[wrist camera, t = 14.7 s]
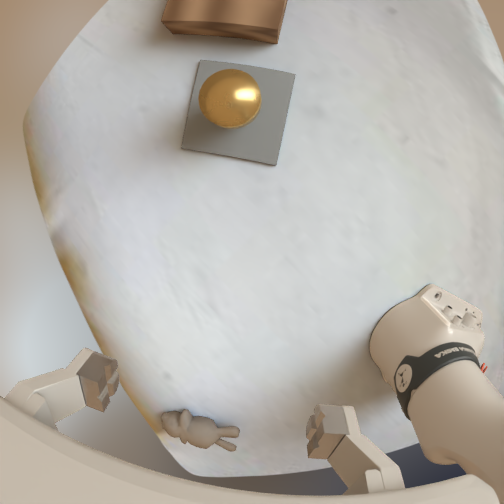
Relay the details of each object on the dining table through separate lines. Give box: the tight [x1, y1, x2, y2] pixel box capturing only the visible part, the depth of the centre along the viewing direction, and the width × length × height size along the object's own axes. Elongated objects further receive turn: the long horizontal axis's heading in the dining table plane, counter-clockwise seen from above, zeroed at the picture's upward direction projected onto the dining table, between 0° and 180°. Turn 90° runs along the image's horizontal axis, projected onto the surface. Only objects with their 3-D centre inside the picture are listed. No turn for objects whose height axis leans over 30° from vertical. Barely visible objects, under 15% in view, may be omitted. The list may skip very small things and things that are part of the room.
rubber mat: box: [182, 60, 296, 165], centre depth 33 cm, size 12×12×1 cm
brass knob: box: [198, 69, 262, 129], centre depth 29 cm, size 6×6×8 cm
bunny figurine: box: [161, 409, 240, 451], centre depth 49 cm, size 10×5×15 cm
